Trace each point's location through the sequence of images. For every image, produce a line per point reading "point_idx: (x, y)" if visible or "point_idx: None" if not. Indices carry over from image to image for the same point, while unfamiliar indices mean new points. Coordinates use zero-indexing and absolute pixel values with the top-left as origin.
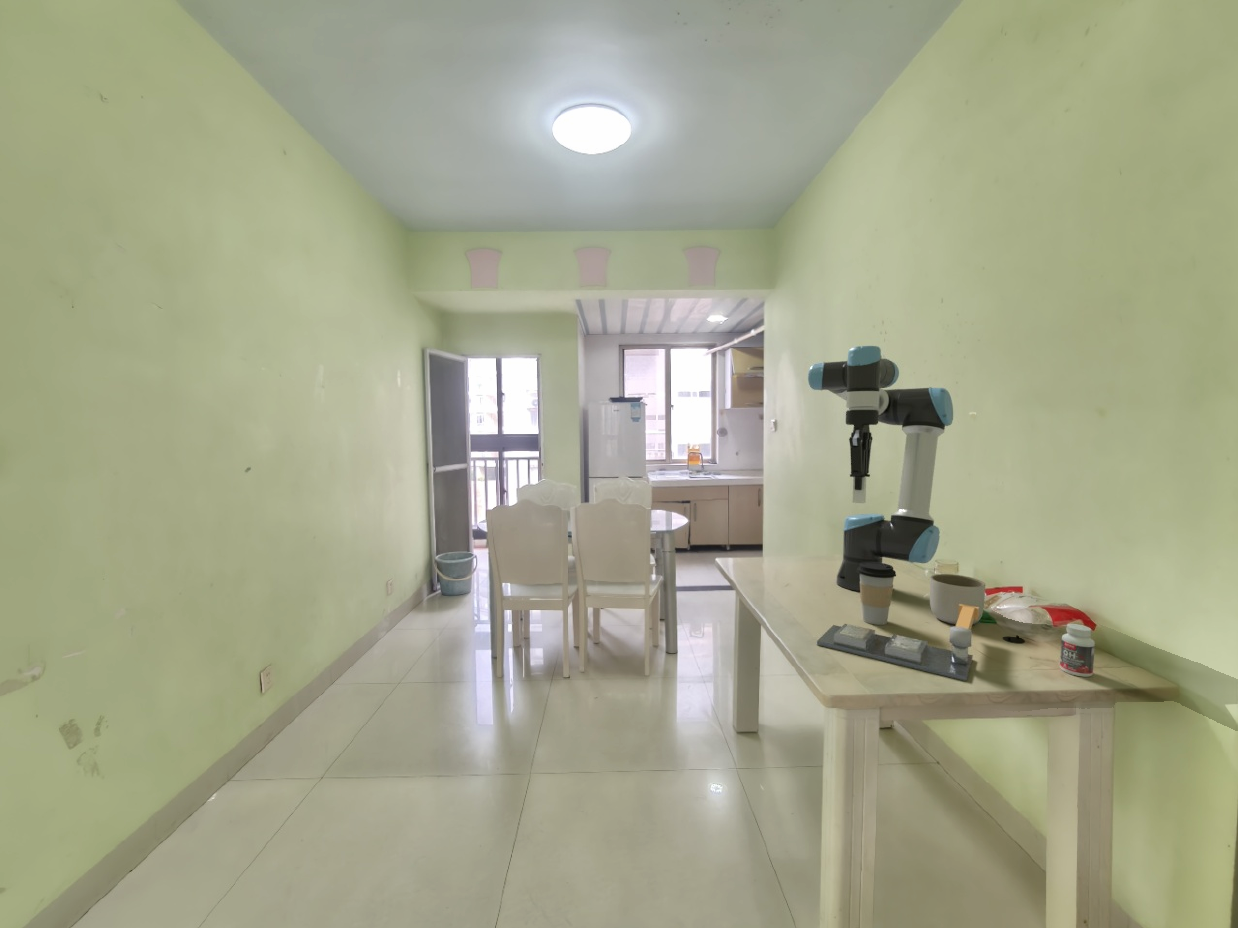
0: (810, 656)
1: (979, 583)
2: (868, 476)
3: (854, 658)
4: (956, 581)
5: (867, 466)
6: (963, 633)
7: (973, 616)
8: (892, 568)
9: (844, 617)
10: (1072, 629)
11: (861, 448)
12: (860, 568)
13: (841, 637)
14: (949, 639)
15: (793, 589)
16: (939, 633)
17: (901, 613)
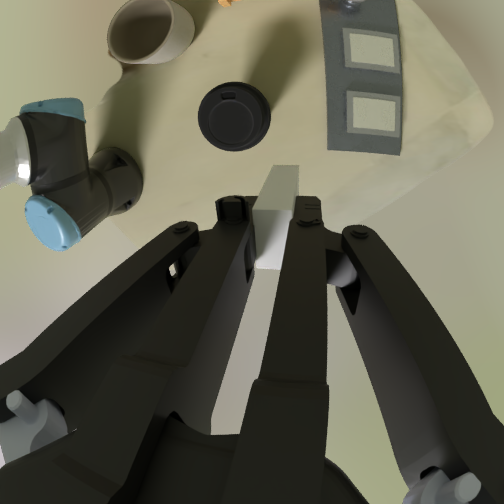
0: (434, 154)
1: (124, 10)
2: (244, 199)
3: (412, 107)
4: (116, 42)
5: (176, 249)
6: None
7: None
8: (229, 87)
9: (267, 148)
10: None
11: (456, 403)
12: (250, 142)
13: (399, 127)
14: (359, 1)
15: None
16: (242, 31)
17: (191, 92)
